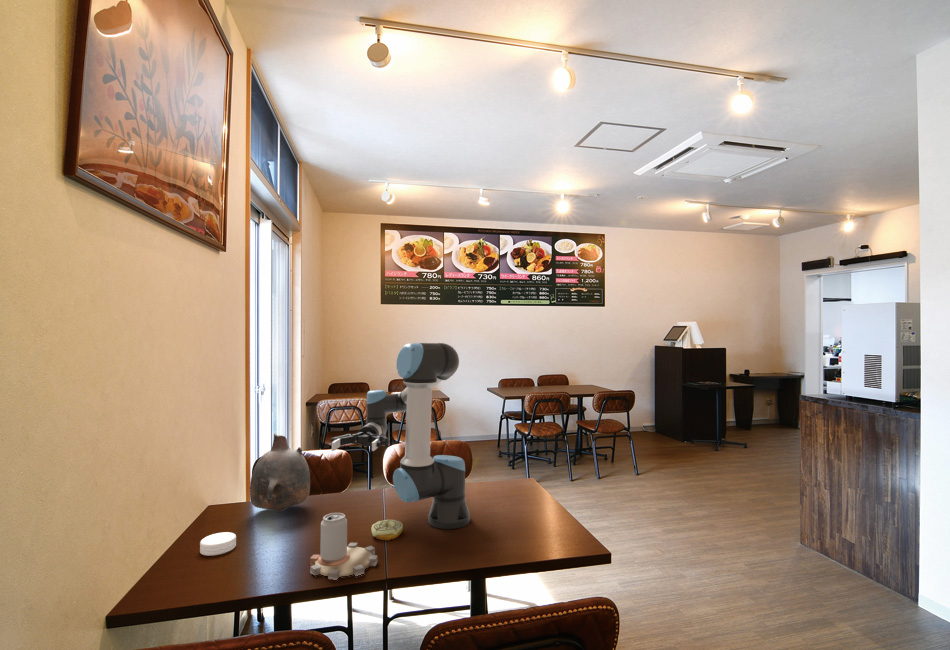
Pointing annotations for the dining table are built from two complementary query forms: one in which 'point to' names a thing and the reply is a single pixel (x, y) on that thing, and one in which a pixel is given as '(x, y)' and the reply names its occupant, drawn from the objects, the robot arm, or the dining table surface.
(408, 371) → the robot arm
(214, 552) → the white thick disc
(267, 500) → the jug
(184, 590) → the dining table surface
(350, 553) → the sprocket wheel
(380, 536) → the decorated donut
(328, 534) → the can
